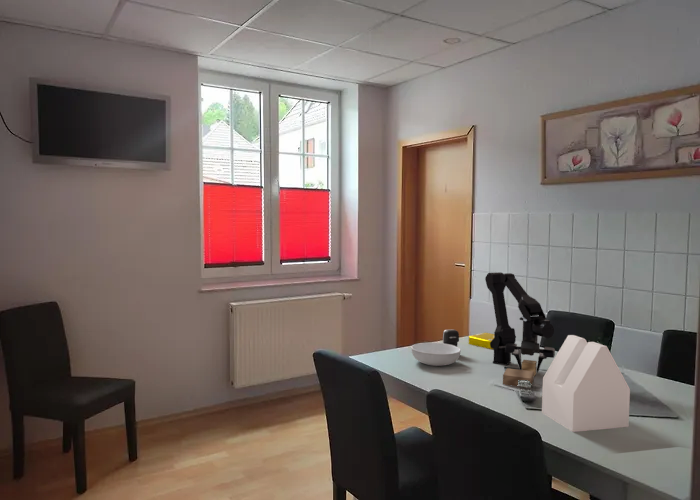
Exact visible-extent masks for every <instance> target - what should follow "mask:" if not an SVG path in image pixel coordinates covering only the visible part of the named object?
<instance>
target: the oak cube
mask: <svg viewBox="0 0 700 500" xmlns="http://www.w3.org/2000/svg"><path fill="white" fill-rule="evenodd" d="M521 362H522V369H521V370H526V371H534V377H535V376H536V374H537V365H538V360H530V359H523V360H522V361H521Z"/></svg>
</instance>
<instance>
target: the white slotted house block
mask: <svg viewBox="0 0 700 500" xmlns="http://www.w3.org/2000/svg"><path fill="white" fill-rule="evenodd" d="M541 394H542V396H541V397H542V399H541V414H543V415H544V416H546V417H548V418H549V419H551V420H553V421H554V422H556V423H557V424H559V425H560V426H563V428H565V429H567V430H568V431H570V432H572V433H574V432H586V431H587V432H588V431H597V430H607V429H619V428H629V427H630V425H629V420H630V400H631V399H630V398H631V389H630V387H629V385H628V383H627V381H626V379H625V377H624V375H623V374H622V372H621V369H620V368H619V366H618V365H617V363H616V361H615V359H614V357H613V355H612V354H611V352H610V350H609V348H608V346H607V345H605V344H604V345H603V344H602V343H598V342H595V341H588V342H587V339H585V338H584V337H580V336H578V335H575V334H568V335H567V336H566V338H565V339H564V342H563V343H562V345H561V347H559V350H558V352H557V353H556V354H555V356H554V358H553V360H552V362H551V363H550V365H549V367H548V368H547V370H546V372H545V374H544V376H543V377H542V393H541Z"/></svg>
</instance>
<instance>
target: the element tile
mask: <svg viewBox="0 0 700 500" xmlns="http://www.w3.org/2000/svg"><path fill="white" fill-rule="evenodd" d="M494 338H495V337H494V333H490V332H481V333H476V334H473V335H469V336H468V345H471V346H475V347H480V348H482V349H483V348H484V349H488V350H494V349H493V348H491V347H490V342H491V341H492V340H493V339H494Z"/></svg>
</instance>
